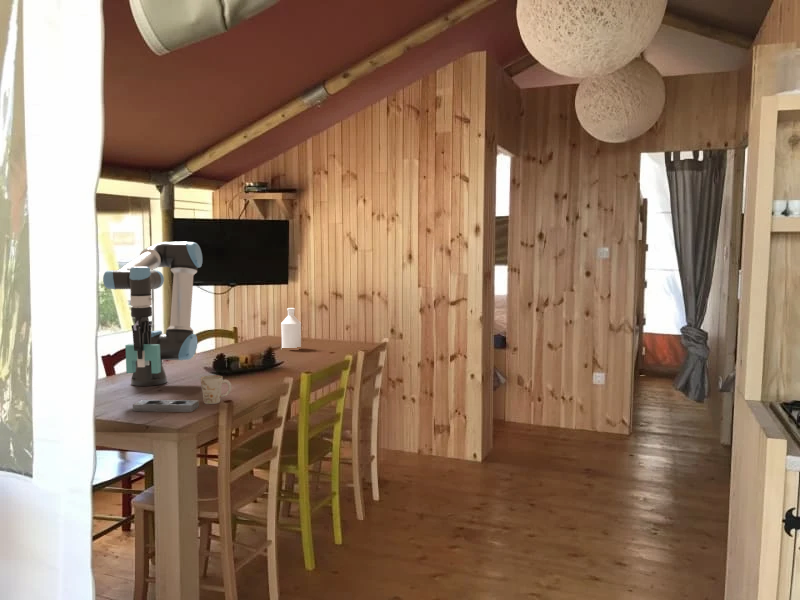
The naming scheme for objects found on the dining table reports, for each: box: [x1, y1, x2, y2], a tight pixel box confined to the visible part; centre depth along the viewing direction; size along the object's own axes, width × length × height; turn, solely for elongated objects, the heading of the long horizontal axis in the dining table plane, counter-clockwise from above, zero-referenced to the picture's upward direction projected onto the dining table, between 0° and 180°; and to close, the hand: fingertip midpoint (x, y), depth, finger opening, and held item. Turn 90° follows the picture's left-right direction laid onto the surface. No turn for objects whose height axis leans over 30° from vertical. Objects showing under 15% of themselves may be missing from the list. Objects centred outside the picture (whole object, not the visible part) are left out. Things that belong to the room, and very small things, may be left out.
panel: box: [124, 343, 161, 374], centre depth 254 cm, size 12×3×11 cm, turn 88°
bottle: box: [280, 307, 302, 349], centre depth 391 cm, size 12×12×25 cm
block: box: [132, 399, 200, 413], centre depth 244 cm, size 22×8×2 cm, turn 88°
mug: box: [200, 374, 232, 405], centre depth 257 cm, size 8×13×10 cm, turn 135°
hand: (143, 365), depth 254 cm, fingers closed on panel, 3 cm apart
